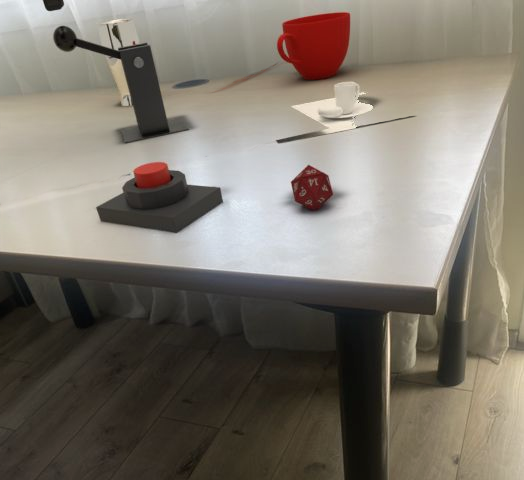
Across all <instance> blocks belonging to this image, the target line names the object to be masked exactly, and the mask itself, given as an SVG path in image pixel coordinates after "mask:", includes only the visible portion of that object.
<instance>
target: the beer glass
mask: <svg viewBox="0 0 524 480" xmlns="http://www.w3.org/2000/svg"><path fill="white" fill-rule="evenodd" d="M96 25H97V29H98V34H99V40H100V45H101V46H105V47H108V48H111V49H115V50H118V48H120V47H125V46H130V45H136V44H141V43H140V39H139V34H138V32H137V28H136V26H135V25H136V24H135V22H134V18H133V17H126V18H118V19H113V20H108V21H103V22H100V23H99V22H98V23H97V24H96ZM104 58H105V61H106V63H107V66H108V69H109V71H110V72H111V75H112V77H113V79H114V81H115V84H116V86H117V89H118V93H119V97H120V105H121V106H122V107H132V106H133V104H132V101H131V97H130V93H129V89H128V85H127V81H126V78H125V74H124V70H123V66H122V62H121V60H120V59H117V58H114V57H110V56H107V55H104Z"/></svg>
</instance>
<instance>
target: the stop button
mask: <svg viewBox="0 0 524 480" xmlns="http://www.w3.org/2000/svg"><path fill="white" fill-rule="evenodd" d="M169 170H170V169H169V165H168V163H166V162H164V161H154V162H148V163H145V164H141V165H139V166H137V167H135V168H134V169H133V176H134V177H135V180H136V184H137V187H138V188H152V187H157V186H161V185H164V184H166V183H168V182H170V181H171V177H170V173H169Z"/></svg>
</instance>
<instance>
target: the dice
mask: <svg viewBox="0 0 524 480" xmlns="http://www.w3.org/2000/svg"><path fill="white" fill-rule="evenodd" d="M290 184H291V189H292V195H293V198H294V202H296V203H298V204H300V205H301V206H303V207H306V208H307V209H309V210H312V211H313V212H317V210H319V209H320V208H321V207H322V206H323V205H324V204H325V203H326V202H328V201H329V199H331V197H332V196H334V192H333V188H332V184H331V179H330V176H329V175H328V174H327V173H325V172H323V171H321V170H319V169H318V168H316V167H313V166H312V165H310V164H307V166H305V167H304V168H303V169H302V171H300V172H299V173H298V174H297V175H296V176H295V177H294V178H293V179H292V180H290Z"/></svg>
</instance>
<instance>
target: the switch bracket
mask: <svg viewBox="0 0 524 480" xmlns="http://www.w3.org/2000/svg"><path fill="white" fill-rule="evenodd" d="M128 48H129V49H128ZM118 51H120V55H121V59H122V60H121V62H122V66H123V70H124V74H125V78H126V81H127V85H128V89H129V93H130V97H131V101H132V104H133V105H132V108H133V112H134V116H135V120H136V123H137V126H132V127H128V128H127V127H126V128H123V129H121V130H120V131H121V134H122V138H123V142H124V144H125V145H126V144H130V143H136V142H140V141H145V140H149V139H150V140H151V139H155V138H158V137H159V138H160V137H163V136H169V135H172V134H177V133H183V132H186V131H190V128H189V127H188V126H187V124H186V123H185V122H184V120H183V119H182V117H181V116H179V117H175V118H171V119H170V118H169V119H168V117H167V114H166V109H165V104H164V100H163V95H162V91H161V86H160V84H159V83H160V82H159V79H158V73H157V69H156V64H155V61H154V57H153V53H152V51H153V50H152V48H151V45H150V44H148V42H141V43H140V44H136V45H130V46H125V47H120V48H118Z"/></svg>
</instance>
